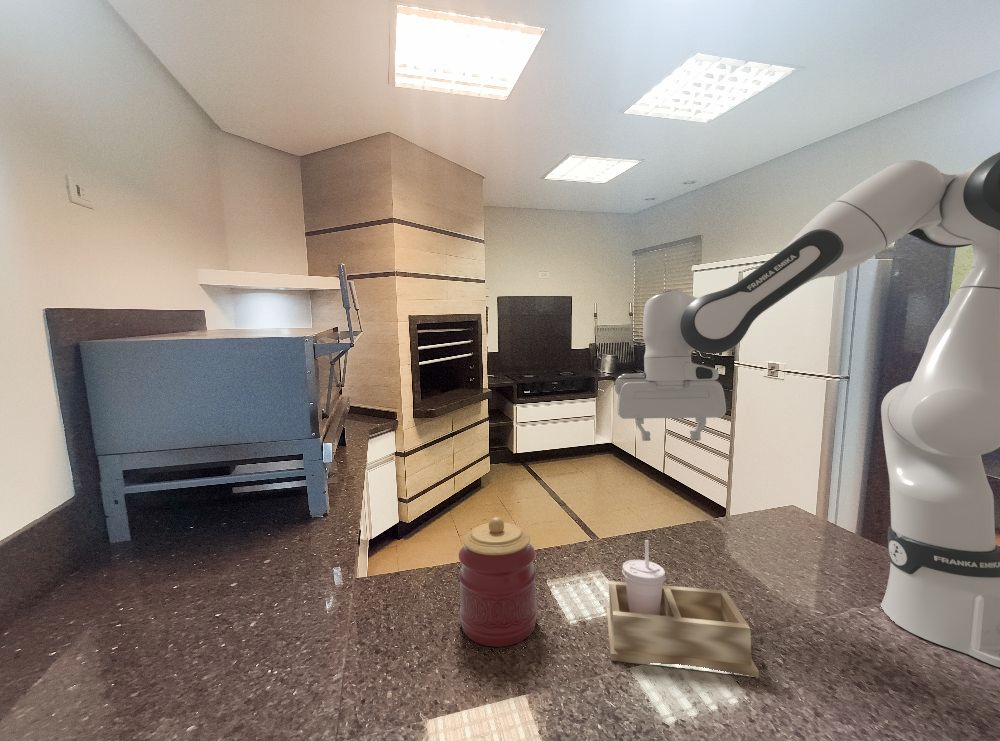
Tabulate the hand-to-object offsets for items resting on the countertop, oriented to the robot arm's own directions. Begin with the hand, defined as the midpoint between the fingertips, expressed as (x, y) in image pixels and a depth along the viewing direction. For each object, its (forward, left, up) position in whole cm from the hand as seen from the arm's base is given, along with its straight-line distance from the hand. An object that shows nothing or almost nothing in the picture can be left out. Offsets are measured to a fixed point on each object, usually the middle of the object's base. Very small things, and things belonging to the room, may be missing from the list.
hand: (670, 440), depth 79 cm
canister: (+32, +20, -28) cm, 47 cm away
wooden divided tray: (+5, +20, -28) cm, 34 cm away
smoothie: (+9, +20, -27) cm, 34 cm away
